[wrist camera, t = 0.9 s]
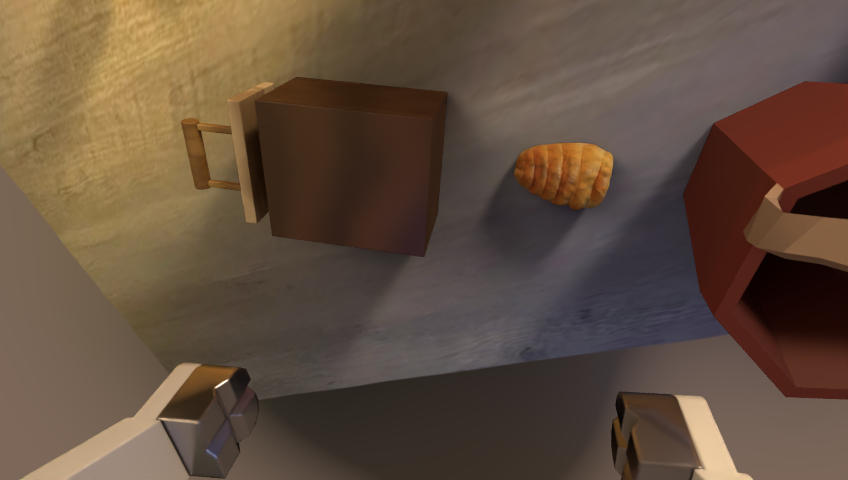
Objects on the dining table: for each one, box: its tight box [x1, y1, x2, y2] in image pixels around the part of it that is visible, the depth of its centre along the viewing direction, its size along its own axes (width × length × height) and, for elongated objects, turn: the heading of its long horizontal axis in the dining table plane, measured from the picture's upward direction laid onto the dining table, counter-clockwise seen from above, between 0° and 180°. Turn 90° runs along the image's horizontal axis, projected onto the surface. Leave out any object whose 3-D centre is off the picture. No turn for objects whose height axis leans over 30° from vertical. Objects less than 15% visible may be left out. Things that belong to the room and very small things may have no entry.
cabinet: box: [255, 77, 447, 257], centre depth 48 cm, size 16×14×9 cm
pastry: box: [514, 143, 613, 210], centre depth 48 cm, size 9×7×4 cm
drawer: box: [181, 82, 275, 224], centre depth 49 cm, size 20×13×7 cm, turn 87°
